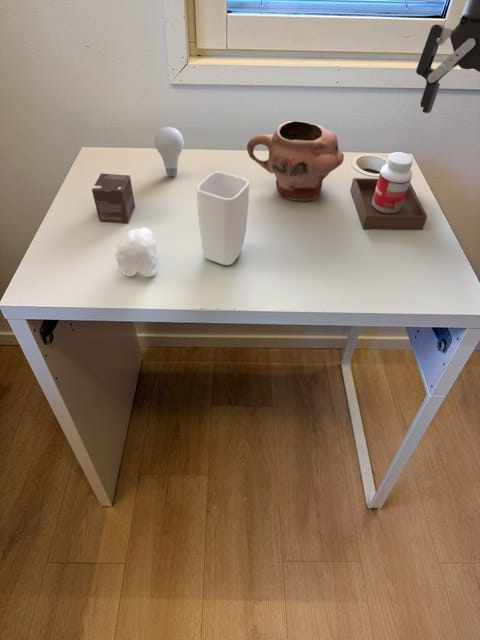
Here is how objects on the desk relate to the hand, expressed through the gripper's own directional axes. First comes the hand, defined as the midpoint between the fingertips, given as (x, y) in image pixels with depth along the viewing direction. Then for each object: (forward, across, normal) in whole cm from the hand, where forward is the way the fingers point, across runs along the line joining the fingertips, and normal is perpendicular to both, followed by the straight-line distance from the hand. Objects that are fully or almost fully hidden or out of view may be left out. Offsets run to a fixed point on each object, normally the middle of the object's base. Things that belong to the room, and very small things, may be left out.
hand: (456, 119), depth 65 cm
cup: (+30, -30, -10) cm, 43 cm away
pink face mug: (+24, -31, +16) cm, 43 cm away
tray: (+23, -11, +22) cm, 34 cm away
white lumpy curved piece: (+31, -40, -20) cm, 55 cm away
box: (+29, -55, -12) cm, 63 cm away
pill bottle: (+23, -11, +23) cm, 34 cm away
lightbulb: (+25, -56, +5) cm, 61 cm away
